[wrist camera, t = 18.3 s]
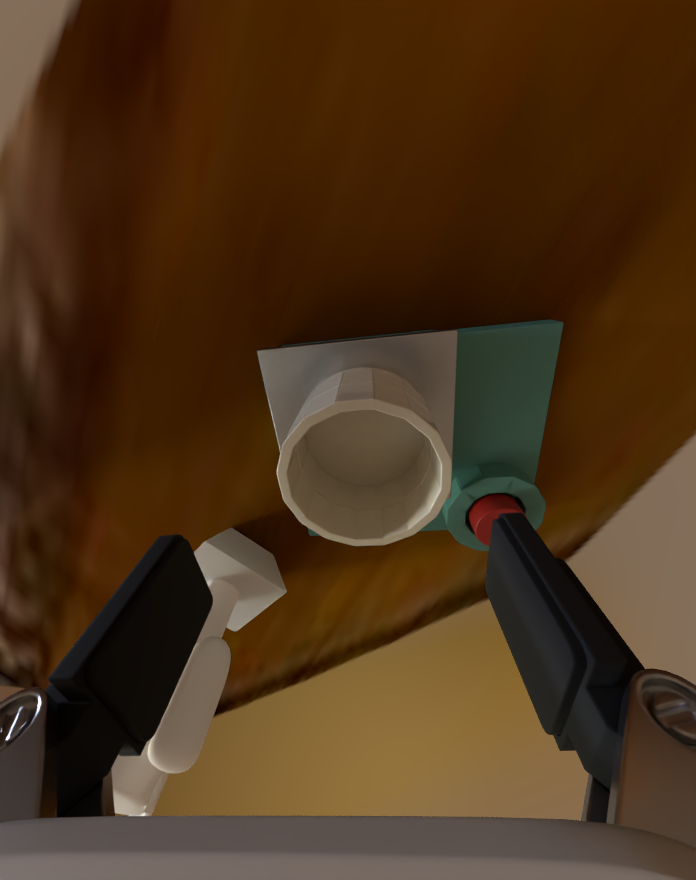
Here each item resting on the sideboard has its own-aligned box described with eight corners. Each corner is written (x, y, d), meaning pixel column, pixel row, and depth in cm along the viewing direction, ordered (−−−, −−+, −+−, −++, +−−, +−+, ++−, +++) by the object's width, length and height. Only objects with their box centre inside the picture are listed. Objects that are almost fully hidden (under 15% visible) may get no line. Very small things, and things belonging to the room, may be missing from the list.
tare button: (466, 532, 22) (473, 549, 20) (469, 494, 20) (477, 509, 19) (515, 530, 22) (525, 547, 20) (521, 491, 20) (532, 507, 19)
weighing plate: (302, 477, 24) (292, 507, 21) (274, 339, 19) (256, 350, 16) (439, 468, 23) (450, 498, 20) (442, 321, 18) (458, 329, 15)
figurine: (176, 560, 28) (7, 808, 15) (233, 499, 25) (78, 753, 12) (243, 599, 30) (145, 850, 17) (304, 548, 27) (242, 813, 14)
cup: (311, 488, 20) (294, 548, 15) (288, 373, 17) (259, 408, 12) (430, 481, 19) (449, 543, 15) (431, 360, 16) (455, 391, 11)
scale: (313, 529, 26) (306, 557, 23) (276, 347, 20) (261, 358, 17) (518, 519, 24) (537, 549, 22) (551, 318, 18) (584, 325, 15)
